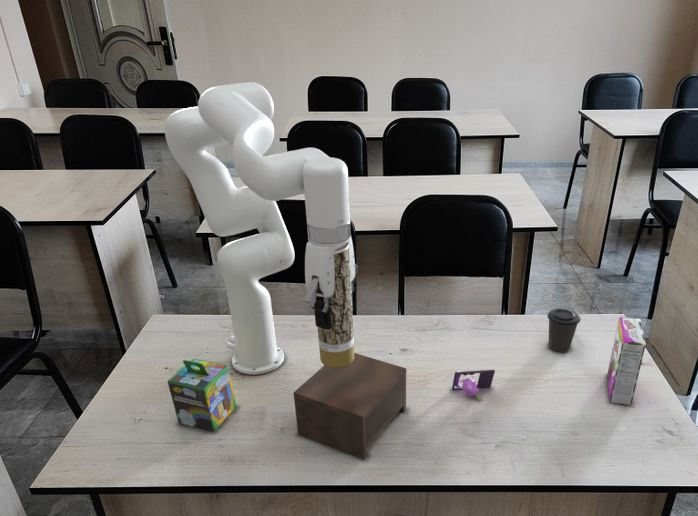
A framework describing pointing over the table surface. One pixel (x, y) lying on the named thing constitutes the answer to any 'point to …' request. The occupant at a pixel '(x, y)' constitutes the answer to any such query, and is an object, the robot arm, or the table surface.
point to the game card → (469, 384)
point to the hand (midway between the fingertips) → (334, 318)
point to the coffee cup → (562, 329)
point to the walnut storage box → (350, 404)
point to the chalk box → (202, 394)
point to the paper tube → (339, 316)
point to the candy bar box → (625, 360)
